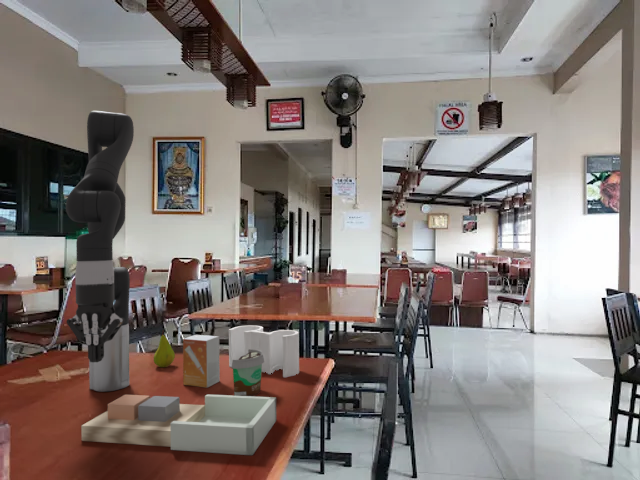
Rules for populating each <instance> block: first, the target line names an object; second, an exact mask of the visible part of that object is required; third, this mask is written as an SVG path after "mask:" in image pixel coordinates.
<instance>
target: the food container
mask: <svg viewBox="0 0 640 480" xmlns="http://www.w3.org/2000/svg"><path fill="white" fill-rule="evenodd" d="M262 363H264V357H263V354H262V352H261V351H258V350H250V349H248V354H246V355H244V356H241V357H240V358H239V359H238V360H233V361H232V367H231V369H232V375H233V377H232V378H233V380H232V381H233V393H234V395H233V396H255V397H257V395H259V394H260V393H261V384H262V372H261V371H262Z"/></svg>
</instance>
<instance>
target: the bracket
mask: <svg viewBox="0 0 640 480" xmlns="http://www.w3.org/2000/svg"><path fill="white" fill-rule="evenodd" d="M299 336H300V335H299V331H297V330H293V329H292V330H291V329H281V330H274V331H271V332H268V331H264V327H263V326H261V325H239V326H235V327H232V328H229V329H228V363H229V364H228V366H229V368H232V361H233V360H238V359H239V358H240V357H241V356H244V355H246V354H248V349H250V350H258V351H261V352H262V354H263V357H264V363H262V371H261V373H265V372H266V374H267V375H272V374H274V372H276V371H279V369H281V370H282V377H283V378H288V377H293V376H296V374H297V375H299V373H300V347H299V346H300V343H299V341H300V337H299ZM275 370H276V371H275ZM271 373H272V374H271Z"/></svg>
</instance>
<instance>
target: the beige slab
mask: <svg viewBox="0 0 640 480" xmlns="http://www.w3.org/2000/svg"><path fill="white" fill-rule="evenodd" d="M204 416H205V404H188V403H185V404H184V403H180V411H179V412H178V413H176V414H175V415H174V416H172V417H171V418H170V419H169V420H167V421H166V422H158V421H140V420H138V418H136V419H135V420H123V419H108V410H106V411H104V412H103V413H100V414H98V415H97V416H95V417H94V418H93V419H92V418H91V420H89V421H87V422H86V423H85V422H84V424H81V426H80V427H81V429H80V430H81V441H82V442H97V443H108V444H109V443H111V444H112V443H113V444H126V445H141V446H155V447H170V448H171V423H172V422H173V421H186V422H199V421H200V420H201V419H202V418H203V417H204Z"/></svg>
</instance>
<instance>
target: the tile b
mask: <svg viewBox="0 0 640 480" xmlns="http://www.w3.org/2000/svg"><path fill="white" fill-rule="evenodd" d="M180 404H181V403H180V396H169V395H168V396H166V395H164V396H163V395H153V396H151V397H150V399H148V400H147V401H145V402H144V403H142V404H140V405H139V406H138V420H140V421H158V422H166V421H167V420H169V419H170V418H171V417H172V416H174V415H175V414H176V413H178V412H179V411H180Z"/></svg>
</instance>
